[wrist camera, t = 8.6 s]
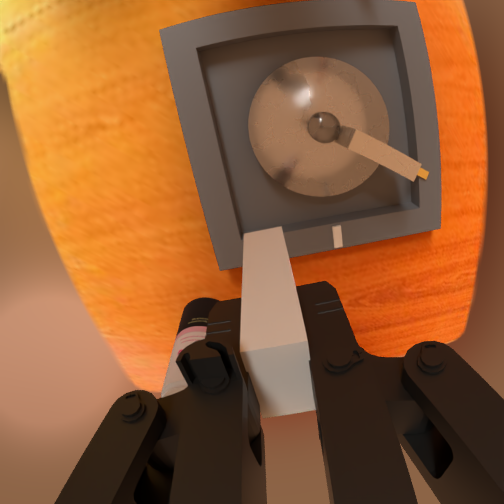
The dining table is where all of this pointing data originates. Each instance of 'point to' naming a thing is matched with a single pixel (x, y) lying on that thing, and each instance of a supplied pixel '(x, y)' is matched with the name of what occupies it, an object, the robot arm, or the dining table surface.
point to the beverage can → (187, 340)
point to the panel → (238, 107)
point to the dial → (322, 128)
